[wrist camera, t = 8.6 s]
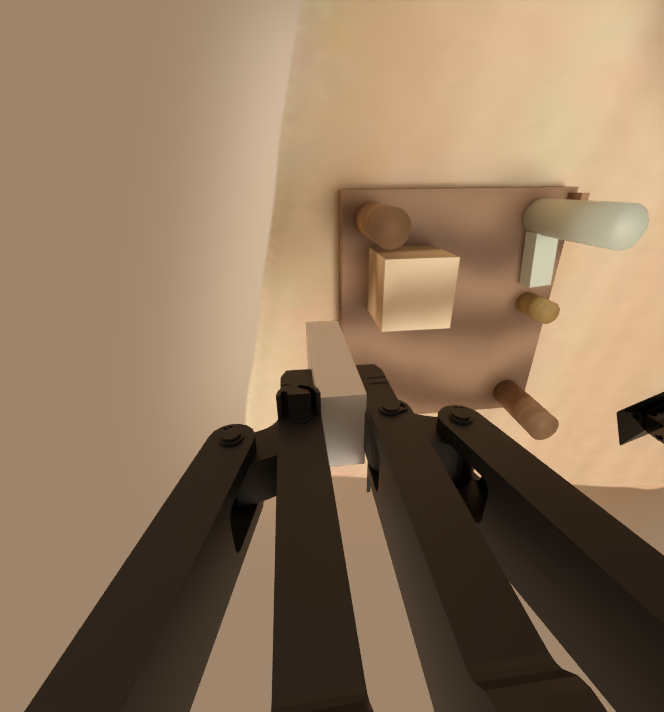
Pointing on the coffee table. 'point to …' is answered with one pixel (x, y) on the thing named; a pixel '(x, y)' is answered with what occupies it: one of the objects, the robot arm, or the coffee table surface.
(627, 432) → the black bracket plate
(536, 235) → the gate leg
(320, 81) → the coffee table surface
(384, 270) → the maple block
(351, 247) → the stool board
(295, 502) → the robot arm
